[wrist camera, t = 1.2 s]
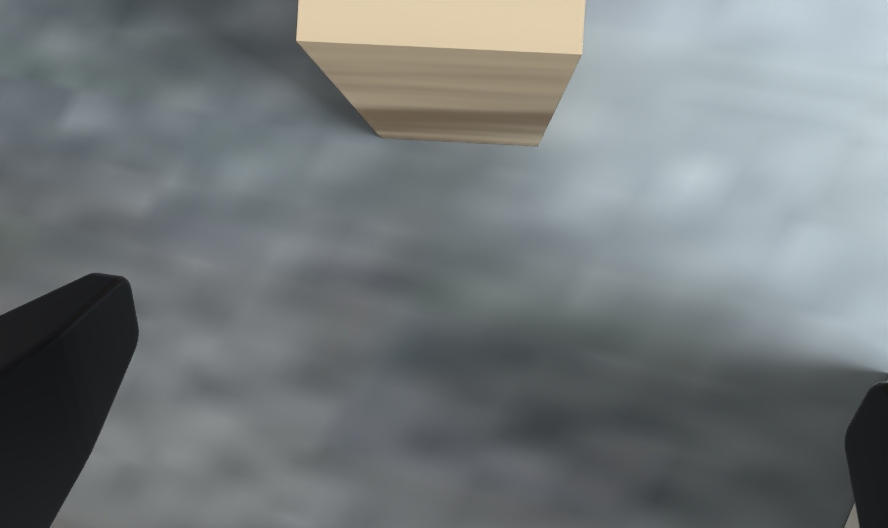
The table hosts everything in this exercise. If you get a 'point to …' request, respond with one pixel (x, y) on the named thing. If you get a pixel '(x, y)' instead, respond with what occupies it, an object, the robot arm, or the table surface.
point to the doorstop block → (448, 63)
